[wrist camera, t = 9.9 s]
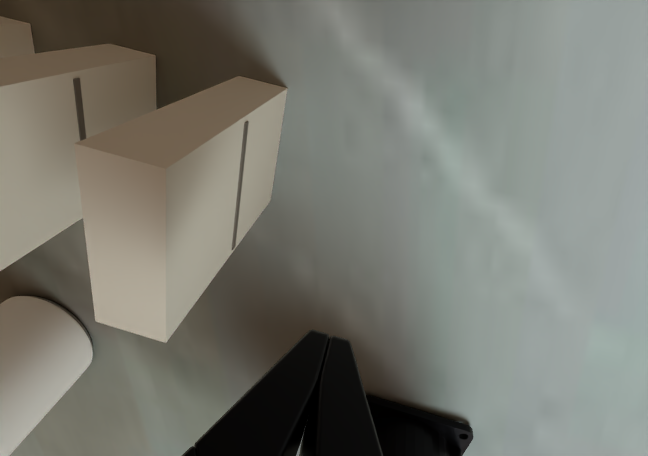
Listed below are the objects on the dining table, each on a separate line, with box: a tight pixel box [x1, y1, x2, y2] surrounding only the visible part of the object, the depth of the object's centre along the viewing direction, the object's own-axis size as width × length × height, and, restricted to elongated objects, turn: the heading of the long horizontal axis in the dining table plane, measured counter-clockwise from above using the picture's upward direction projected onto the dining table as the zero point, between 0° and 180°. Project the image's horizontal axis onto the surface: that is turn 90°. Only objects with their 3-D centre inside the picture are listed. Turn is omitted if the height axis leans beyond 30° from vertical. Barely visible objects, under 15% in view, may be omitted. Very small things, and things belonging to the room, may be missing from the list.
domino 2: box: [74, 76, 288, 343], centre depth 13 cm, size 2×5×9 cm, turn 169°
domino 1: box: [0, 44, 157, 271], centre depth 14 cm, size 2×5×9 cm, turn 169°
